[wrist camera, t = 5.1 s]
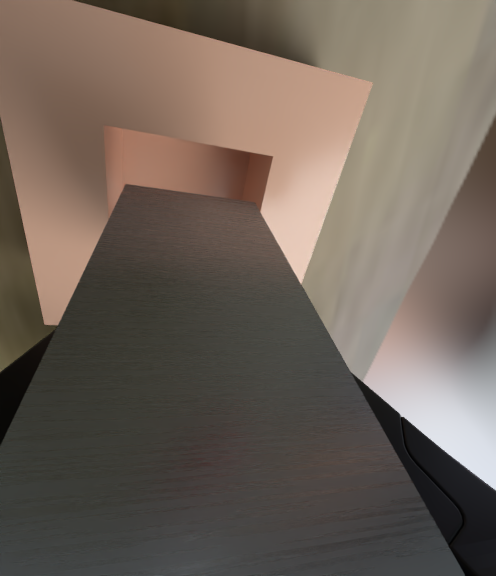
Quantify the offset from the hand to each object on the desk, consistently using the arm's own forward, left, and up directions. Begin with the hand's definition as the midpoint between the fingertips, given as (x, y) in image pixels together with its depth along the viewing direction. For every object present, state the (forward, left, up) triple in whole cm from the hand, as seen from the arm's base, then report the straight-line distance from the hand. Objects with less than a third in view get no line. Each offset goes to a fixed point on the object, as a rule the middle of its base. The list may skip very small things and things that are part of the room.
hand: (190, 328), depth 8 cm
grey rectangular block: (0, 0, -4) cm, 4 cm away
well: (0, 0, -12) cm, 12 cm away
